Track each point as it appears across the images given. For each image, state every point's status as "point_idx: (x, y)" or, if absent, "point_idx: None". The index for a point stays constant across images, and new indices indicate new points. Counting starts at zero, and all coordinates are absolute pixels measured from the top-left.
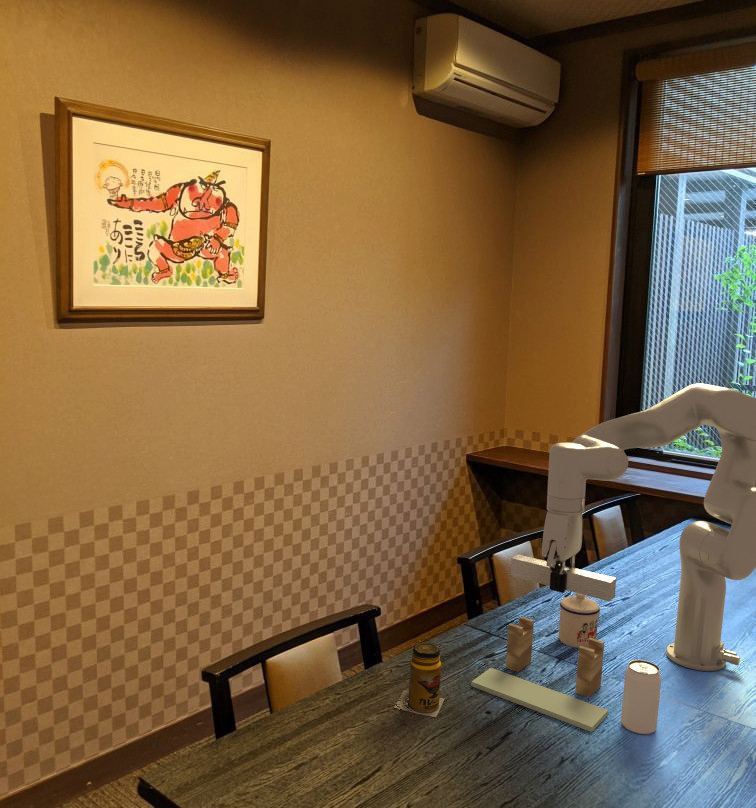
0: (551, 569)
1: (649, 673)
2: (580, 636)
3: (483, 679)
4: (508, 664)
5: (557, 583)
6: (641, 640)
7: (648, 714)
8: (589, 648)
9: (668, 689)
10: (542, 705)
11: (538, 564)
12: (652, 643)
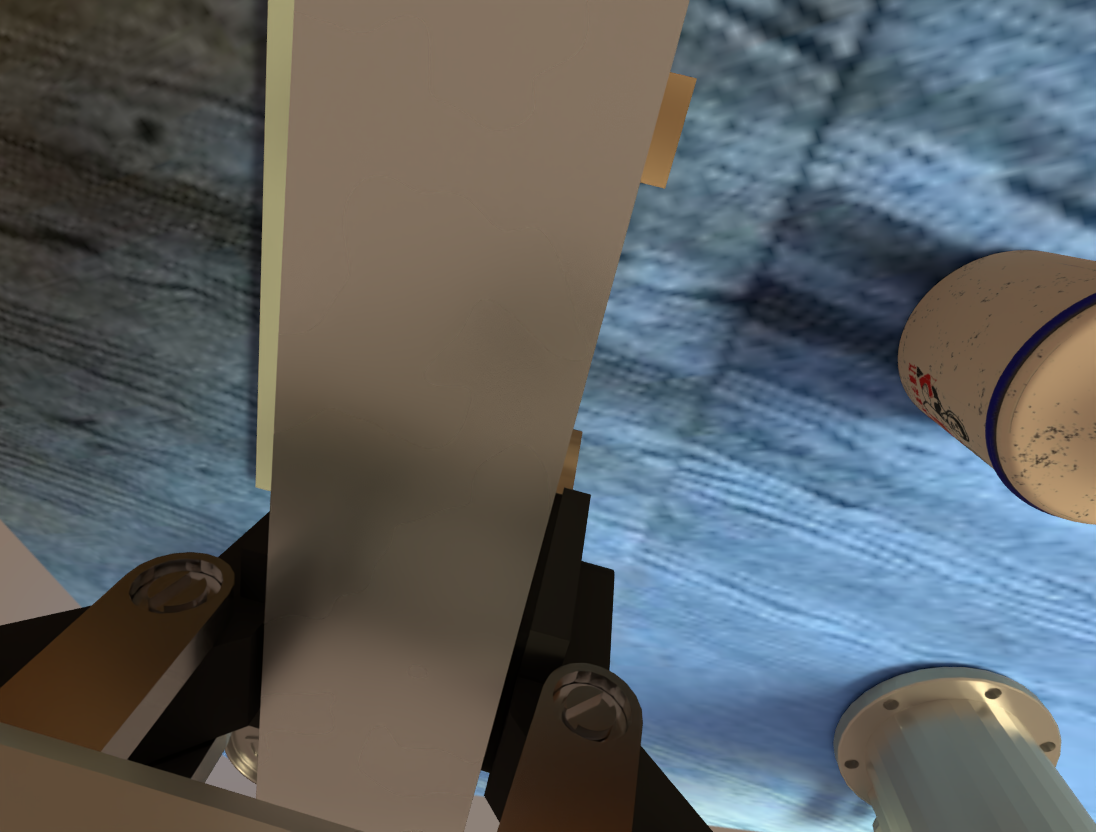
0: (36, 630)
1: (256, 762)
2: (923, 386)
3: None
4: None
5: None
6: (1071, 588)
7: None
8: None
9: (654, 659)
10: (277, 323)
11: (282, 340)
12: (1048, 624)
